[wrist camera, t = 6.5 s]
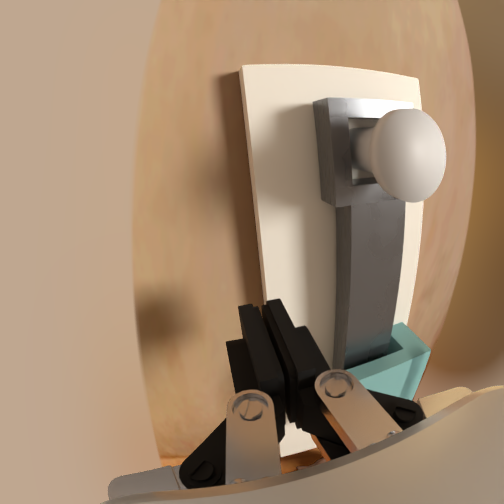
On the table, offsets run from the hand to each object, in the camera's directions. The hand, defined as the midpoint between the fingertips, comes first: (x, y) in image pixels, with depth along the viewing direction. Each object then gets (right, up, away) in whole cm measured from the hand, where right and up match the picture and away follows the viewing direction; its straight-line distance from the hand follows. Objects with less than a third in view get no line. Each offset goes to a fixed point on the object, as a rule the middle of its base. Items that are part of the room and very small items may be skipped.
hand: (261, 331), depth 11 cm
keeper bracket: (+7, -5, +6) cm, 10 cm away
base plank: (+5, -1, +5) cm, 8 cm away
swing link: (+6, +1, +4) cm, 7 cm away
